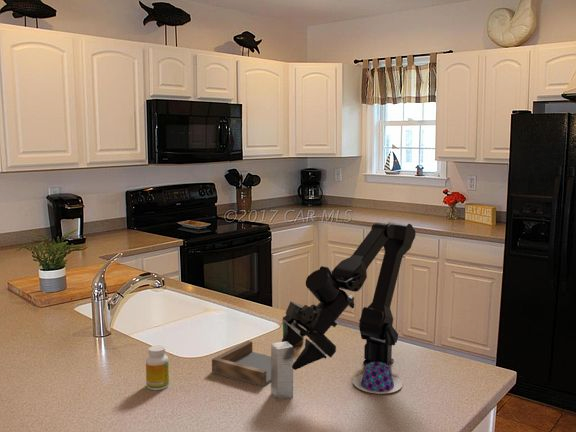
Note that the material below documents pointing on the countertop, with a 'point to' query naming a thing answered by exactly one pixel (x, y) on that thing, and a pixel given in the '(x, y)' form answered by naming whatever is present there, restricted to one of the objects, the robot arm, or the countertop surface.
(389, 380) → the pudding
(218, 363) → the corner walls
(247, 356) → the corner mat
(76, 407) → the countertop surface
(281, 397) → the aluminium post
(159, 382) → the supplement bottle
